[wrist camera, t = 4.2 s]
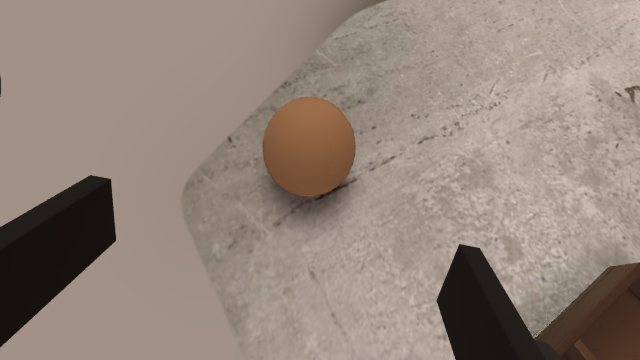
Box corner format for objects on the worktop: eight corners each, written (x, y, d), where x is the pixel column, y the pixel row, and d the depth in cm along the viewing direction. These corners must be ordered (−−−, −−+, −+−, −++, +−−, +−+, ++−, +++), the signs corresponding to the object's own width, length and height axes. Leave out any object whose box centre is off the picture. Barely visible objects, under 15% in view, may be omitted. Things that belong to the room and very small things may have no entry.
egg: (326, 123, 30) (338, 58, 22) (360, 190, 28) (386, 143, 20) (255, 150, 28) (240, 90, 21) (285, 221, 26) (281, 184, 19)
